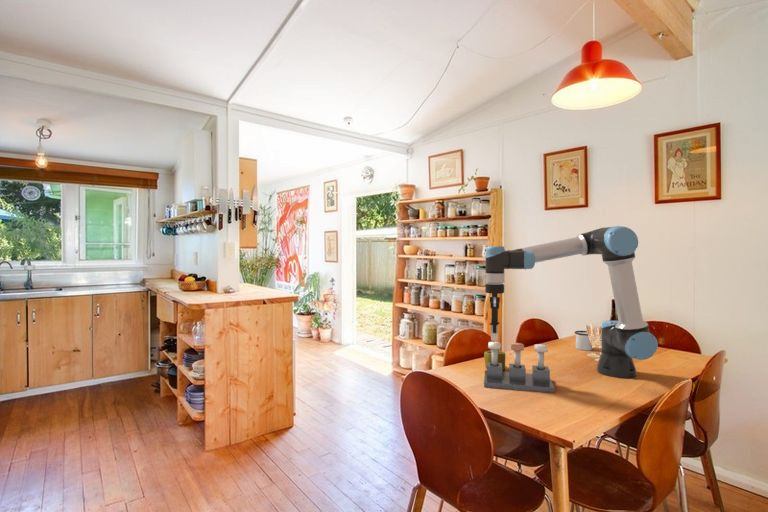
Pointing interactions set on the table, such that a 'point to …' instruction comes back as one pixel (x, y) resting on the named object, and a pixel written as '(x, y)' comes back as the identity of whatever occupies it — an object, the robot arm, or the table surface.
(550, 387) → the mount
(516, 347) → the pink capped peg
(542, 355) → the knob near
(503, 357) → the mug
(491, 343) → the knob far
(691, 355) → the table surface
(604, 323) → the robot arm
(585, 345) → the mug
